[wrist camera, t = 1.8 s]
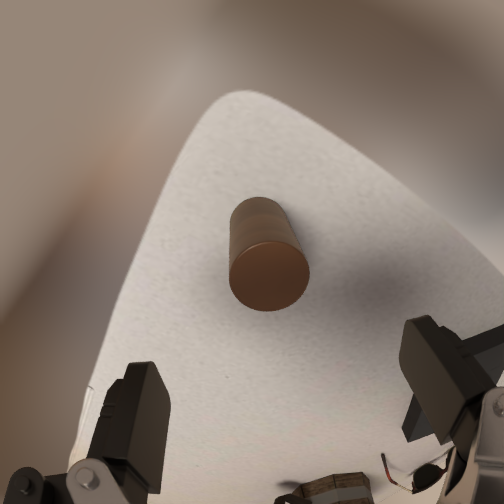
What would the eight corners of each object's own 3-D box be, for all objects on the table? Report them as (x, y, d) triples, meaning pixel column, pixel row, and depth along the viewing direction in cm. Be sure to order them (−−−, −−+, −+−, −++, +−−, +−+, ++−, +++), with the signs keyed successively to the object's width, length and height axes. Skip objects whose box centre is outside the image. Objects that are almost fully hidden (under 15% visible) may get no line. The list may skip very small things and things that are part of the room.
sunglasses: (405, 475, 42) (413, 496, 37) (370, 453, 37) (378, 480, 32) (471, 434, 38) (482, 454, 34) (452, 401, 34) (467, 427, 29)
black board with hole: (425, 352, 27) (436, 369, 25) (507, 322, 27) (518, 335, 25) (401, 428, 33) (407, 442, 31) (473, 399, 33) (481, 411, 31)
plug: (225, 201, 20) (221, 248, 13) (283, 192, 20) (307, 235, 13) (234, 253, 21) (236, 317, 15) (289, 245, 21) (311, 305, 15)
